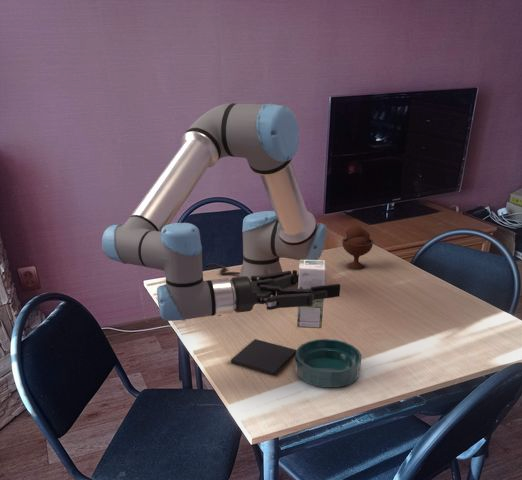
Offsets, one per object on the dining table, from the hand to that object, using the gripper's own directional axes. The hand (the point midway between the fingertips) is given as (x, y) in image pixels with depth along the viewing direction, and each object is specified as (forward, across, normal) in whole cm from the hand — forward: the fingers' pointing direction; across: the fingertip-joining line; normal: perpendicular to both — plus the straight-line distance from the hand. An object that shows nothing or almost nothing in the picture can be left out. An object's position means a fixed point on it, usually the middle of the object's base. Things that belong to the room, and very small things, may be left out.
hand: (331, 283), depth 113 cm
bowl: (-1, +3, -21) cm, 21 cm away
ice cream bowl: (+36, -59, -21) cm, 72 cm away
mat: (-14, -7, -21) cm, 26 cm away
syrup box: (-5, 0, -9) cm, 11 cm away
